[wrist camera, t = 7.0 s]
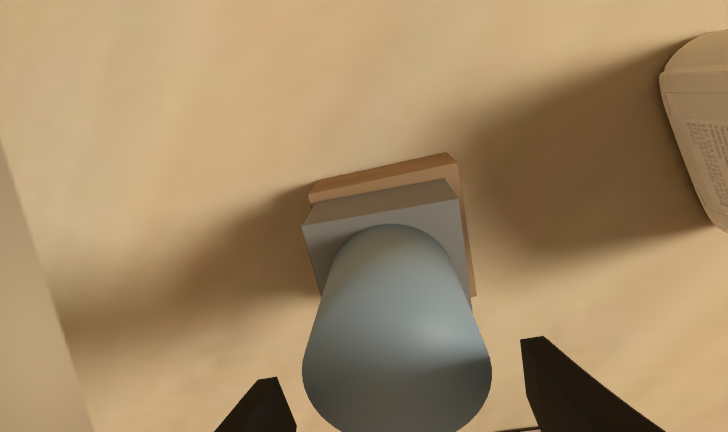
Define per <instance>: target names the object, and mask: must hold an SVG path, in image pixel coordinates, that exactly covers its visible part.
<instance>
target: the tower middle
mask: <svg viewBox="0 0 728 432" xmlns="http://www.w3.org/2000/svg"><path fill="white" fill-rule="evenodd" d="M381 224H402V225H408V226H412V227H415V228H417V229H420V230H422V231H424V232H426V233H428V234H429V235H431V236H432V237H433V238H435V239H436V240H437V241H438V242H439V243H440V244H441V245H442V246H443V247H444V249H445V250H446V251H447V253H448V255H449V257H450V259H451V261H452V264H453V266H454V269H455V271H456V274H457V276H458V279H459V281H460V284H461V286H462V289H463V291H464V294H465V296H466V299H467V301H468V304H469V306H470V309H471V312H472V304H471V296H470V288H469V279H468V271H467V263H466V255H465V247H464V238H463V230H462V222H461V214H460V206H459V198H458V197H457V196H456V194H455V193H454V191H453V190H452V188H451V187H450V185H449V184H448V183H447V181H446V180H445V178H443V179H437V180H432V181H426V182H421V183H415V184H410V185H405V186H399V187H394V188H388V189H383V190H377V191H372V192H367V193H361V194H356V195H350V196H345V197H339V198H334V199H329V200H323V201H318V202H316V204H315V205H314V207H313V208H312V210H311V211H310V213H309V215H308V216H307V218H306V219H305V221H304V223H303V224H302V226H301V228H302V231H303V235H304V238H305V242H306V245H307V249H308V252H309V256H310V259H311V263H312V266H313V270H314V273H315V277H316V281H317V284H318V288H319V291H320V295H321V298H322V295H323V291H324V288H325V285H326V282H327V278H328V275H329V272H330V269H331V265H332V262H333V260H334V257H335V255H336V254H337V252H338V250H339V249H340V248H341V246H342V245H343V244H344V243H345V242H346V241H347V240H348V239H349V238H350V237H352V236H353V235H355V234H356V233H358V232H360V231H362V230H364V229H366V228H369V227H372V226H376V225H381ZM472 314H473V312H472Z"/></svg>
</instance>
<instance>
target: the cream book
mask: <svg viewBox="0 0 728 432" xmlns="http://www.w3.org/2000/svg"><path fill="white" fill-rule="evenodd" d="M659 85H660V91H661V96H662V101H663V104H664V107H665V110H666V113H667V116H668V119H669V121H670V125H671V128H672V130H673V133H674V135H675V138H676V141H677V144H678V146H679V149H680V152H681V154H682V157H683V160H684V162H685V165H686V167H687V170H688V172H689V175H690V178H691V180H692V183H693V185H694V188H695V191H696V193H697V195H698V197H699V200H700V202H701V204H702V206H703V208H704V210H705V212H706V214H707V215H708V217H709V219H710V220H711V221H712V222H713V224H714V225H715V226H717V227H718V228H719V229H721V230H723V231H724V232H727V233H728V29H727V30H721V31H716V32H711V33H707V34H704V35H701V36H699V37H697V38H695V39H693V40H691V41H690V42H688V43H686V44H685V45H684V46H683V47H681V48H680V49H679V50H678V51H677V52H676V53H675V54H674V55H673V56H672V57H671V59H670V60H669V61H668V63H667V64H666V66H665V68H664V72H662V73H661V74H660V76H659Z"/></svg>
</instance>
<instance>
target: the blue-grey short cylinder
mask: <svg viewBox="0 0 728 432" xmlns="http://www.w3.org/2000/svg"><path fill="white" fill-rule="evenodd" d="M302 377H303V383H304V387H305V391H306V393H307V395H308V398H309V400H310V401H311V403H312V405H313V406H314V408H315V409H316V410H317V411H318V413H319V414H320V415H321V416H322V417H323V418H324V419H325V420H326V421H327V422H328V423H330V424H331V425H332V426H334V427H335V428H337V429H338V430H340V431H341V432H456V431H458V430H459V429H461V428H462V427H463V426H465V425H466V424H467V423H468V422H470V421H471V420H472V419H473V417H474V416H475V415H476V414H477V413H478V412H479V410H480V409H481V408H482V406H483V404H484V402H485V400H486V399H487V396H488V393H489V390H490V387H491V380H492V367H491V362H490V357H489V355H488V352H487V349H486V347H485V344H484V342H483V339H482V337H481V334H480V332H479V329H478V327H477V324H476V322H475V319H474V317H473V314H472V312H471V309H470V306H469V304H468V301H467V299H466V296H465V294H464V291H463V289H462V286H461V284H460V281H459V279H458V276H457V274H456V271H455V269H454V266H453V264H452V261H451V259H450V257H449V255H448V253H447V251H446V250H445V249H444V247H443V246H442V245H441V244H440V243H439V242H438V241H437V240H436V239H435V238H433V237H432V236H431V235H429V234H428V233H426V232H424V231H422V230H420V229H417V228H415V227H412V226H408V225H402V224H381V225H376V226H372V227H369V228H366V229H364V230H362V231H360V232H358V233H356V234H355V235H353V236H352V237H350V238H349V239H348V240H347V241H346V242H345V243H344V244H343V245H342V246H341V248H340V249H339V250H338V252H337V254H336V255H335V257H334V260H333V262H332V265H331V269H330V272H329V275H328V278H327V282H326V285H325V288H324V291H323V295H322V298H321V301H320V305H319V308H318V311H317V314H316V318H315V321H314V324H313V327H312V331H311V334H310V337H309V341H308V344H307V347H306V350H305V354H304V358H303V364H302Z"/></svg>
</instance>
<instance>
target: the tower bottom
mask: <svg viewBox="0 0 728 432" xmlns="http://www.w3.org/2000/svg"><path fill="white" fill-rule="evenodd" d="M443 178H445V180H446V181H447V183H448V184H449V185H450V187H451V188H452V190H453V191H454V193H455V194H456V196H457V197H458V198H459V206H460V214H461V222H462V230H463V238H464V247H465V255H466V263H467V271H468V279H469V288H470V296H471V297H475V296H477V294H476V287H475V280H474V274H473V267H472V260H471V253H470V246H469V239H468V232H467V225H466V218H465V211H464V204H463V197H462V190H461V183H460V177H459V170H458V163H457V162H456V161H455V160H454V159H453V158H452V157H451V156H450V155H449V154H448V153H447V152H445V153H441V154H436V155H431V156H427V157H422V158H418V159H413V160H409V161H404V162H399V163H395V164H390V165H386V166H381V167H377V168H372V169H367V170H363V171H358V172H354V173H349V174H345V175H340V176H335V177H331V178H326V179H322V180H318V181H317V183H316V184H315V185H314V187H313V188H312V189H311V191H310V192H309V193H308V198H309V201H310V205H311V208H313V207H314V205H315V204H316V202H318V201H323V200H329V199H334V198H339V197H345V196H350V195H356V194H361V193H367V192H372V191H377V190H383V189H388V188H394V187H399V186H405V185H410V184H415V183H421V182H426V181H432V180H437V179H443Z"/></svg>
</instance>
